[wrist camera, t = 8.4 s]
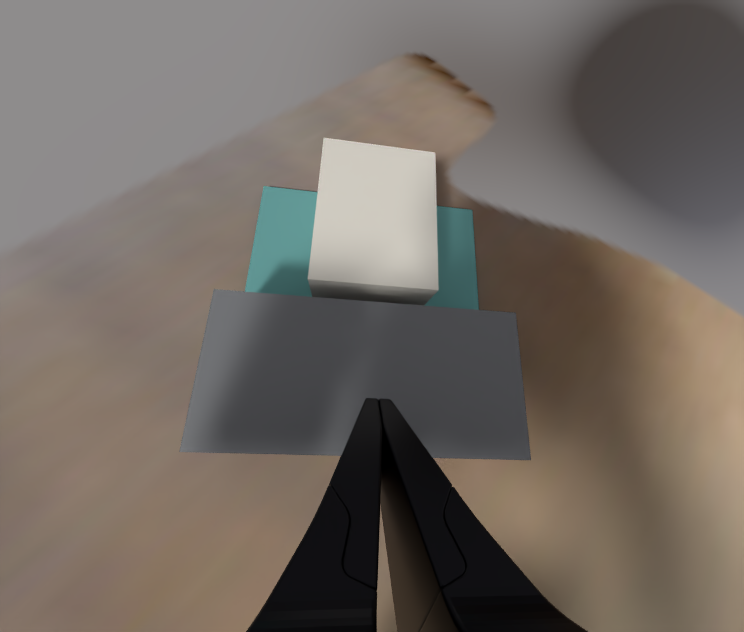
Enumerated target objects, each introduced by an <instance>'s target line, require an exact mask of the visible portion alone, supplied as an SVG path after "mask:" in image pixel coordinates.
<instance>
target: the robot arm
mask: <svg viewBox="0 0 744 632" xmlns="http://www.w3.org/2000/svg"><path fill="white" fill-rule="evenodd" d="M380 504H381V512H382V519H383V527H384V534H385V541H386V549H387V556H388V564H389V571H390V579H391V586H392V594H393V601H394V608H395V616H396V623H397V631H398V632H588V631H586V630H585V629H583V628H582V627H580V626H579V625H577V624H576V623H574V622H573V621H572V620H570V619H569V618H567V617H566V616H565V615H564V614H562V613H561V612H560V611H559V610H558V609H557V608H555V607H554V606H553V605H552V604H551V603H550V602H549V601H548V600H547V599H546V598H545V597H544V596H543V595H542V594H541V593H540V592H539V591H538V589H537V588H536V587H535V586H534V585H533V584H532V583H531V582H530V580H529V579H528V578H527V577H526V576H525V575H524V573H523V572H522V571H521V570H520V569H519V568H518V566H517V565H516V564H515V563H514V562H513V561H512V559H511V558H510V557H509V556H508V555H507V554H506V552H505V551H504V550H503V549H502V548H501V547H500V545H499V544H498V543H497V542H496V541H495V540H494V538H493V537H492V536H491V535H490V534H489V532H488V531H487V530H486V529H485V528H484V526H483V525H482V524H481V523H480V521H479V520H478V519H477V518H476V517H475V515H474V514H473V513H472V511H471V510H470V509H469V507H468V506H467V505H466V503H465V502H464V501H463V499H462V498H461V497H460V495H459V494H458V492H457V491H456V489H455V488H454V487H452V484H451V483H450V481H449V480H448V478H447V477H446V476H445V474H444V473H443V471H442V470H441V469H440V467H439V466H438V464H437V463H436V462H435V460H434V459H433V457H432V456H431V455H430V453H429V452H428V450H427V449H426V448H425V446H424V445H423V444H422V442H421V441H420V439H419V438H418V437H417V435H416V434H415V432H414V431H413V430H412V428H411V427H410V425H409V424H408V423H407V421H406V420H405V418H404V417H403V416H402V414H401V413H400V411H399V410H398V409H397V407H396V406H395V404H394V403H393V402H392V400H391V399H382V398H380V399H379V400H378V399H377V398H366V399H365V401H364V403H363V406H362V408H361V410H360V413H359V415H358V417H357V420H356V422H355V424H354V427H353V429H352V431H351V434H350V436H349V439H348V441H347V443H346V446H345V448H344V450H343V453H342V455H341V457H340V460H339V462H338V465H337V467H336V469H335V472H334V474H333V476H332V479H331V481H330V483H329V486H328V488H327V490H326V492H325V495H324V497H323V499H322V501H321V504H320V506H319V508H318V510H317V512H316V514H315V517H314V518H313V520H312V522H311V524H310V526H309V528H308V530H307V532H306V533H305V535H304V537H303V539H302V541H301V542H300V544H299V546H298V548H297V549H296V551H295V553H294V555H293V556H292V558H291V560H290V562H289V563H288V565H287V567H286V568H285V570H284V572H283V574H282V575H281V577H280V579H279V581H278V582H277V584H276V586H275V588H274V589H273V591H272V593H271V594H270V596H269V598H268V599H267V601H266V603H265V604H264V606H263V607H262V609H261V611H260V612H259V614H258V615H257V617H256V618H255V620H254V621H253V623H252V624H251V625H250V627H249V628H248V630H247V631H246V632H377V592H376V591H377V580H378V552H379V524H380Z"/></svg>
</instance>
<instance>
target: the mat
mask: <svg viewBox="0 0 744 632" xmlns="http://www.w3.org/2000/svg"><path fill="white" fill-rule="evenodd" d="M317 193H318V192H311V191H302V190H293V189H285V188H276V187H267V186H264V188H263V193H262V199H261V204H260V210H259V216H258V221H257V227H256V232H255V238H254V244H253V249H252V255H251V260H250V266H249V271H248V277H247V283H246V288H245V292H256V293H269V294H282V295H295V296H307V297H312V294H311V290H310V286H309V282H308V272H309V263H310V254H311V246H312V237H313V228H314V220H315V211H316V202H317ZM437 245H438V286H439V290H438V291H437V292H436V293H435V294H434V295H433V297H432V298H431V299H430V300H429V301H428V302H427V303H426V304H425V305H424V306H436V307H448V308H461V309H474V310H479V305H478V290H477V275H476V259H475V244H474V229H473V214H472V210H468V209H460V208H451V207H442V206H437Z"/></svg>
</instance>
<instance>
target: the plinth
mask: <svg viewBox="0 0 744 632" xmlns="http://www.w3.org/2000/svg"><path fill="white" fill-rule="evenodd" d="M366 398H377V399H378V400H379V399H380V398H382V399H391V400H392V402H393V403H394V404H395V406H396V407H397V409H398V410H399V411H400V413H401V414H402V416H403V417H404V418H405V420H406V421H407V423H408V424H409V425H410V427H411V428H412V430H413V431H414V432H415V434H416V435H417V437H418V438H419V439H420V441H421V442H422V444H423V445H424V446H425V448H426V449H427V450H428V452H429V453H430V455H431V456H432V457H433V458H463V459H506V460H531V456H530V446H529V436H528V427H527V417H526V407H525V398H524V388H523V378H522V369H521V359H520V349H519V340H518V330H517V320H516V313H513V312H500V311H487V310H474V309H461V308H448V307H436V306H423V305H410V304H397V303H384V302H372V301H359V300H346V299H333V298H320V297H307V296H295V295H282V294H269V293H256V292H243V291H231V290H218V289H214V291H213V296H212V300H211V305H210V310H209V315H208V319H207V324H206V329H205V333H204V338H203V343H202V348H201V352H200V357H199V362H198V366H197V371H196V376H195V381H194V385H193V390H192V395H191V399H190V404H189V409H188V414H187V418H186V423H185V428H184V432H183V437H182V442H181V447H180V451H179V452H206V453H249V454H292V455H335V456H341V455H342V453H343V450H344V448H345V446H346V443H347V441H348V439H349V436H350V434H351V431H352V429H353V427H354V424H355V422H356V420H357V417H358V415H359V413H360V410H361V408H362V406H363V403H364V401H365V399H366Z"/></svg>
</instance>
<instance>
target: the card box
mask: <svg viewBox="0 0 744 632" xmlns="http://www.w3.org/2000/svg"><path fill="white" fill-rule="evenodd" d="M308 282H309V286H310V290H311V294H312V297H320V298H333V299H346V300H359V301H372V302H384V303H397V304H410V305H423V306H424V305H425V304H426V303H427V302H428V301H429V300H430V299H431V298H432V297H433V295H434V294H435V293H436V292H437V291H438V290H439V286H438V245H437V204H436V163H435V153H434V152H427V151H419V150H412V149H404V148H397V147H389V146H382V145H374V144H367V143H359V142H352V141H344V140H337V139H329V138H324V141H323V150H322V159H321V167H320V176H319V185H318V193H317V202H316V211H315V220H314V228H313V237H312V246H311V254H310V263H309V272H308Z"/></svg>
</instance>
